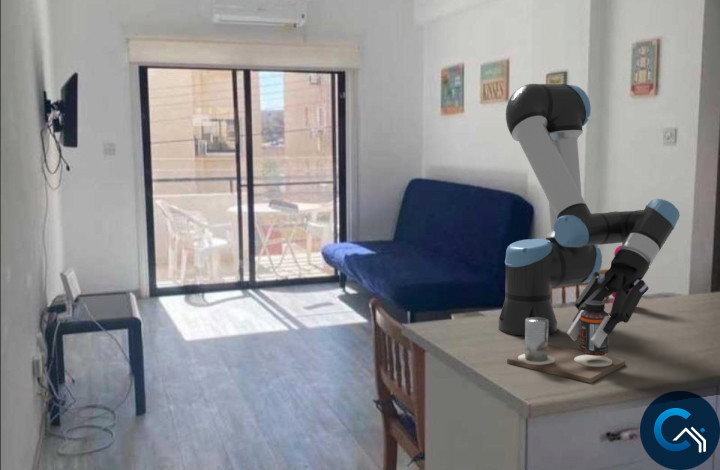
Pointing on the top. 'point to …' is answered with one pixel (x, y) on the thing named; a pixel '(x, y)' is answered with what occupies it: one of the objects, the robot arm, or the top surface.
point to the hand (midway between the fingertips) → (582, 340)
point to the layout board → (571, 364)
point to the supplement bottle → (592, 328)
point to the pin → (536, 339)
